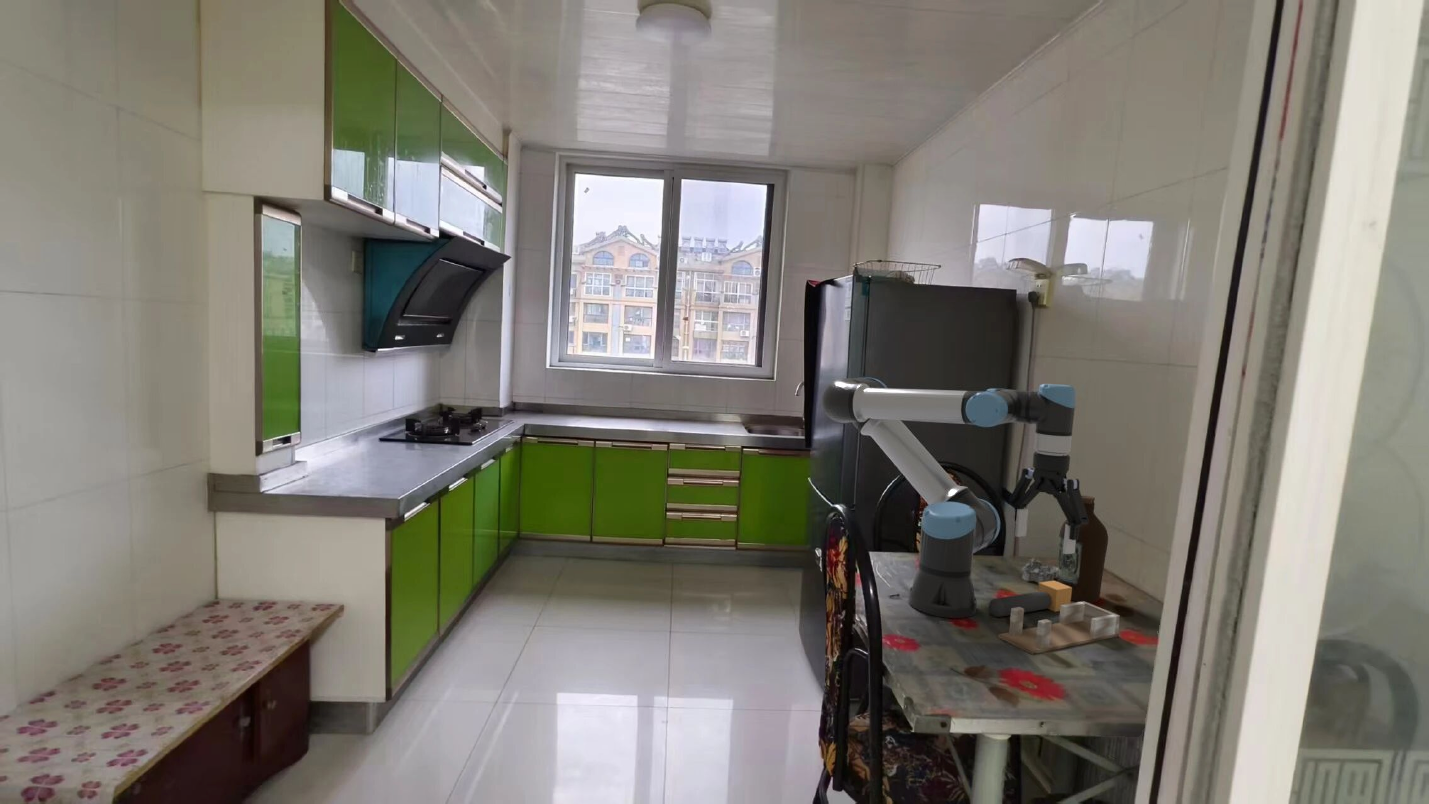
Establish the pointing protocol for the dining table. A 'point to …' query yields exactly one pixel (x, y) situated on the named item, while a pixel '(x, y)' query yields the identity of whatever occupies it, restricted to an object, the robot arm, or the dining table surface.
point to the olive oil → (1084, 557)
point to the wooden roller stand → (1063, 628)
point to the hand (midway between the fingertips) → (1043, 544)
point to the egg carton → (1038, 572)
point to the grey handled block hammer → (1034, 599)
